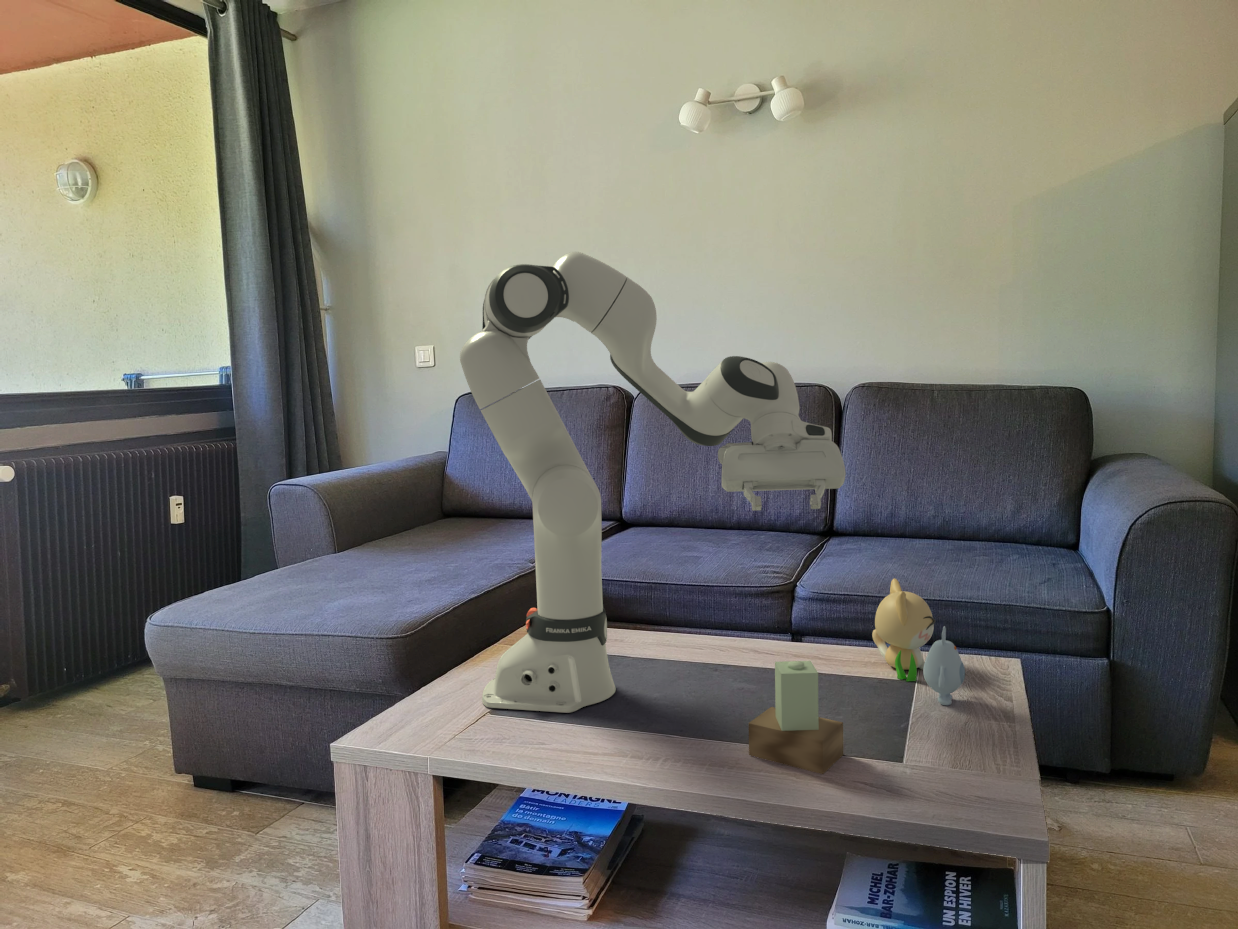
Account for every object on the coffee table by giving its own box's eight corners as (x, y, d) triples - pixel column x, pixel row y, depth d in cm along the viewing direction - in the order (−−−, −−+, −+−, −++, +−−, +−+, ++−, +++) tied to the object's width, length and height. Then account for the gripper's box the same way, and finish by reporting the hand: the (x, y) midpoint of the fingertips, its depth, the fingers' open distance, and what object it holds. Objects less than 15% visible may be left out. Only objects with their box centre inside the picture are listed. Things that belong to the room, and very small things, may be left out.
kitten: (942, 683, 148) (942, 596, 147) (880, 682, 150) (880, 596, 149) (927, 655, 163) (927, 575, 161) (871, 654, 165) (870, 575, 163)
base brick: (749, 757, 124) (748, 723, 123) (771, 739, 129) (771, 706, 129) (823, 776, 117) (822, 740, 117) (843, 757, 123) (843, 722, 122)
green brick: (781, 730, 120) (781, 670, 119) (775, 716, 125) (774, 658, 124) (818, 729, 120) (818, 669, 119) (810, 715, 125) (810, 657, 124)
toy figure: (963, 716, 135) (963, 639, 133) (920, 711, 137) (920, 636, 136) (966, 692, 144) (966, 620, 143) (926, 688, 147) (926, 617, 145)
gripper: (717, 432, 149) (721, 497, 140) (840, 427, 148) (852, 494, 139) (716, 455, 154) (721, 520, 145) (835, 451, 152) (847, 517, 144)
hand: (786, 507), depth 142 cm, fingers open, 8 cm apart
